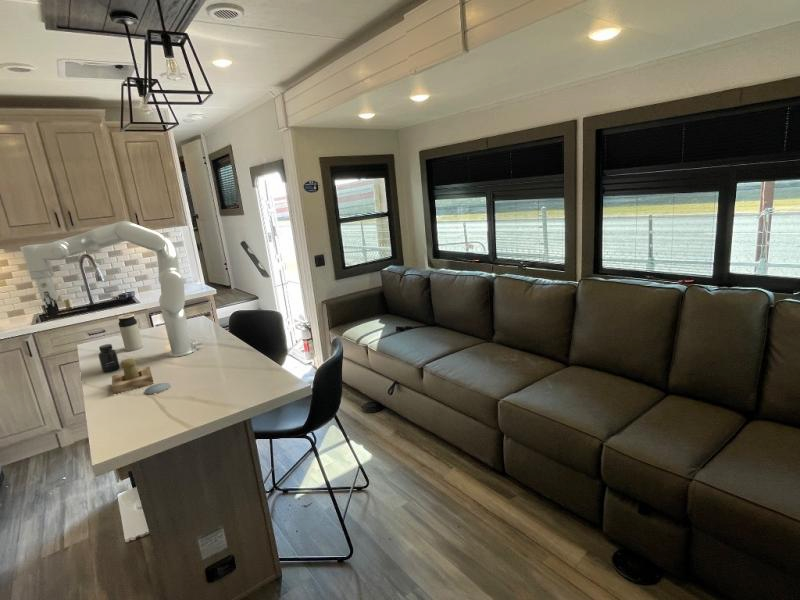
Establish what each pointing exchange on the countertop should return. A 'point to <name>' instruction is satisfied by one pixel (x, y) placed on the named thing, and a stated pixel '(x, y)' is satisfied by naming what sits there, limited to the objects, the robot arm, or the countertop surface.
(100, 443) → the countertop surface
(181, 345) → the robot arm
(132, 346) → the travel mug
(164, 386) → the coaster
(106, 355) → the supplement bottle
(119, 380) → the socket ring
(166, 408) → the countertop surface
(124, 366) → the cork
